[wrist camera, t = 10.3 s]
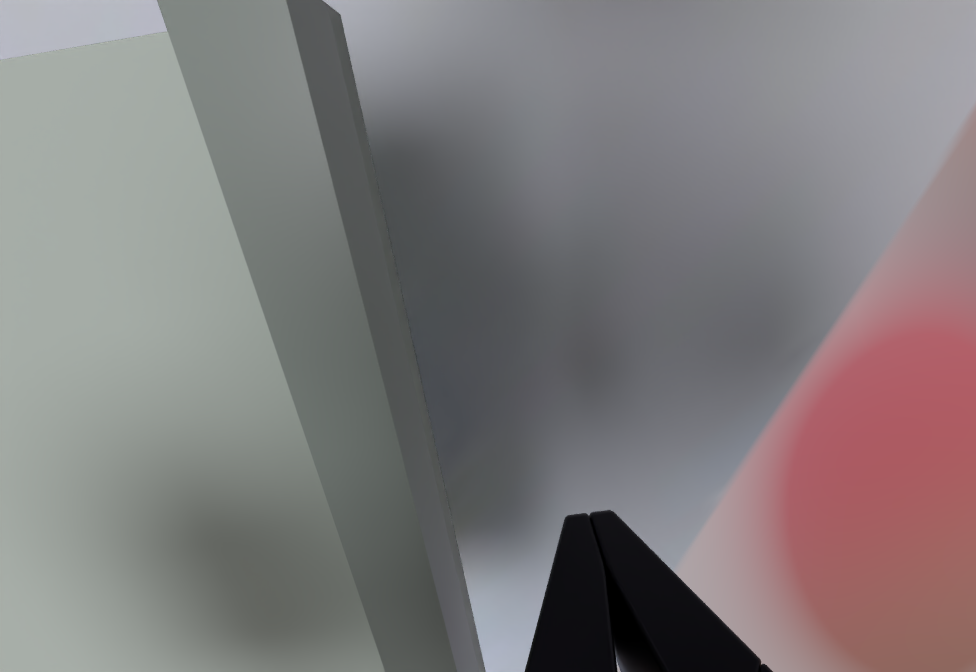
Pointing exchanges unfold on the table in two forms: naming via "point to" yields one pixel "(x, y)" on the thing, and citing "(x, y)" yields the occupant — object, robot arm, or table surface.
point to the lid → (211, 365)
